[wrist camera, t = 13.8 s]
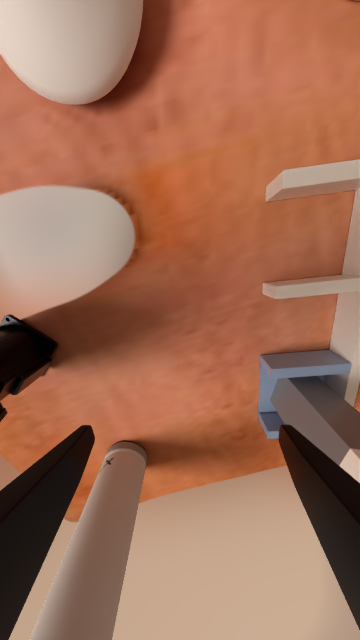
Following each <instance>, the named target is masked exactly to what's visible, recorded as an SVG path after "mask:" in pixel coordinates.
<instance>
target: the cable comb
mask: <svg viewBox="0 0 360 640" xmlns="http://www.w3.org/2000/svg"><path fill="white" fill-rule="evenodd" d="M351 190H356V192H355V198H354V204H353V210H352V216H351V222H350V228H349V234H348V240H347V246H346V252H345V258H344V264H343V270H342V275H333V276H324V277H314V278H305V279H295V280H285V281H276V282H266V283H263V291H262V294H264V295H266V296H269V297H271V298H274V299H285V298H295V297H305V296H315V295H326V294H336V293H339V294H338V300H337V306H336V312H335V318H334V324H333V330H332V336H331V342H330V347H329V350H319V351H306V352H294V353H281V354H268V355H260V364H261V365H260V378H259V406H258V419H259V421H260V423H261V426H262V428H263V430H264V432H265V434H266V436H267V438H268V439H277V438H279V429H280V425H281V424H284V422H283V420H282V419H281V417H280V416H279V414H278V412H277V411H276V409H275V407H274V406H273V404H272V403H271V401H270V398H271V395H272V393H273V390H274V387H275V385H276V382H277V379H278V378H292V377H306V376H317V377H319V378H320V379H321V380H322V381H323V382H324V383H326V384H327V385H328V386H329V387H330V388H331V389H333V390H334V391H335V392H336V393H337V394H338V395H340V396H341V397H342V398H343V399H344V400H345V401H347V402H348V403H349V404H350V405H351V406H352V407H354V404H355V400H356V395H357V391H358V387H359V383H360V159H357V160H350V161H343V162H336V163H329V164H322V165H316V166H309V167H302V168H295V169H288V170H283V171H282V172H281V173H280V174H279V175H278V176H277V177H276V178H275V179H274V180H273V181H272V182H271V183H270V184H269V185H267V186H266V202H269V201H276V200H284V199H291V198H299V197H306V196H314V195H321V194H329V193H336V192H344V191H351Z"/></svg>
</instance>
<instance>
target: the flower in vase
mask: <svg viewBox="0 0 360 640" xmlns="http://www.w3.org/2000/svg"><path fill="white" fill-rule="evenodd" d="M142 13H143V0H0V54H1V56H2V58H3V59H4V60H5V62H6V63H7V64H8V66H9V67H10V69H11V70H12V71H13V72H14V73H15V74H16V75H17V76H18V78H19V79H20V80H21V81H22V82H24V83H25V84H26V85H27V86H28V87H29V88H31V89H32V90H33V91H35V92H36V93H38V94H39V95H41V96H43V97H45V98H47V99H49V100H52V101H55V102H58V103H63V104H70V105H82V104H87V103H91V102H94V101H96V100H98V99H100V98H102V97H103V96H105V95H106V94H108V93H109V92H110V91H111V90H112V89H113V88H114V87H115V86H116V85H117V84H118V82H119V81H120V80H121V78H122V77H123V75H124V73H125V72H126V70H127V68H128V66H129V64H130V61H131V59H132V56H133V53H134V50H135V47H136V45H137V41H138V37H139V33H140V28H141V21H142Z"/></svg>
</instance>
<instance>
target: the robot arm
mask: <svg viewBox="0 0 360 640" xmlns="http://www.w3.org/2000/svg"><path fill="white" fill-rule="evenodd" d="M52 345H53V346H52ZM57 346H58V344H57V343H56V342H55V341H53V340H52V339H50V338H48V337H47V336H45V335H44V334H42V333H40V332H39V331H37V330H35V329H34V328H32V327H31V326H29V325H27V324H26V323H24V322H23V321H21V320H19V319H18V318H16V317H14V316H13V315H6V316H4V318H3V320H2V322H1V325H0V401H1V400H2V399H3V398H5V397H6V396H7V395H9V394H12V395H17V394H18V393H20V392H21V391H22V390H23V389H25V388H26V387H27V386H29V385H30V384H31V383H33V382H34V381H35V380H36V379H38V378H39V377H40V376H42V375H43V374H44V373H45V371H46V370H47V368H48V366H49V365H50V363H51V361H52V358H51V357H52V355H53V354H54V352H55V350H56V348H57ZM6 414H7V411H6V409H5V408H3V406H2V404H1V402H0V422H1V420H2V419H3V418H4V417H5V415H6ZM94 441H95V436H94V433H93V430H92V427H91V426H90V425H82V426H81V427H79V428H78V429H77V430H76V431H74V432H73V433H72V434H71V435H69V436H68V437H67V438H66V439H64V440H63V441H62V442H61V443H59V444H58V445H57V446H56V447H54V448H53V449H52V450H51V451H49V452H48V453H47V454H46V455H44V456H43V457H42V458H41V459H39V460H38V461H37V462H36V463H34V464H33V465H32V466H31V467H29V468H28V469H27V470H26V471H24V472H23V473H22V474H21V475H20V476H18V477H17V478H16V479H14V480H13V481H12V482H11V483H10V484H8V485H7V486H6V487H4V488H3V489H2V490H1V491H0V640H8V639H9V637H10V635H11V633H12V631H13V628H14V626H15V624H16V622H17V620H18V617H19V615H20V613H21V611H22V609H23V606H24V604H25V602H26V599H27V597H28V595H29V593H30V591H31V588H32V586H33V584H34V582H35V580H36V577H37V575H38V573H39V571H40V569H41V566H42V564H43V562H44V560H45V558H46V556H47V553H48V551H49V549H50V546H51V544H52V542H53V540H54V538H55V536H56V533H57V531H58V529H59V527H60V525H61V522H62V520H63V518H64V516H65V514H66V511H67V509H68V507H69V505H70V503H71V500H72V498H73V496H74V494H75V491H76V489H77V487H78V485H79V482H80V480H81V478H82V475H83V472H84V470H85V467H86V464H87V461H88V458H89V456H90V453H91V450H92V447H93V445H94ZM279 444H280V446H281V449H282V452H283V455H284V458H285V461H286V463H287V466H288V469H289V472H290V475H291V477H292V480H293V483H294V485H295V488H296V490H297V492H298V495H299V497H300V499H301V501H302V503H303V506H304V508H305V510H306V512H307V515H308V517H309V519H310V521H311V523H312V526H313V528H314V530H315V532H316V535H317V537H318V539H319V541H320V543H321V546H322V548H323V550H324V552H325V554H326V557H327V559H328V561H329V563H330V565H331V568H332V570H333V572H334V574H335V576H336V579H337V581H338V583H339V585H340V587H341V590H342V592H343V594H344V596H345V599H346V601H347V603H348V605H349V607H350V610H351V612H352V614H353V616H354V618H355V621H356V623H357V625H358V627H359V630H360V483H359V482H358V481H357V480H355V479H354V478H353V477H352V476H351V475H350V474H348V473H347V472H346V471H345V470H344V469H342V468H341V467H340V466H339V465H338V464H337V463H335V462H334V461H333V460H332V459H331V458H329V457H328V456H327V455H326V454H325V453H324V452H322V451H321V450H320V449H319V448H318V447H317V446H315V445H314V444H313V443H312V442H311V441H309V440H308V439H307V438H306V437H305V436H304V435H302V434H301V433H300V432H299V431H298V430H296V429H295V428H294V427H293V426H292V425H290V424H281V425H280V429H279Z"/></svg>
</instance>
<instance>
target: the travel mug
mask: <svg viewBox="0 0 360 640" xmlns="http://www.w3.org/2000/svg"><path fill="white" fill-rule="evenodd" d="M146 463H147V454H146V452H145V451H144V449H143V448H142V447H140V446H139V445H137V444H135V443H132V442H118V443H116V444H114V445H112V446H111V447H110V448H109V450H108V452H107V454H106V457H105V459H104V461H103V464H102V466H101V469H100V471H99V473H98V476H97V478H96V481H95V483H94V485H93V488H92V490H91V493H90V495H89V497H88V500H87V502H86V505H85V507H84V509H83V512H82V514H81V517H80V519H79V521H78V524H77V526H76V529H75V531H74V534H73V536H72V538H71V541H70V543H69V545H68V548H67V551H66V553H65V555H64V557H63V560H62V562H61V565H60V567H59V569H58V572H57V574H56V577H55V579H54V581H53V584H52V586H51V589H50V591H49V594H48V596H47V598H46V601H45V603H44V606H43V608H42V610H41V613H40V615H39V618H38V620H37V623H36V625H35V627H34V630H33V632H32V635H31V637H30V639H29V640H112V636H113V631H114V626H115V620H116V615H117V610H118V605H119V600H120V595H121V589H122V585H123V580H124V575H125V570H126V565H127V560H128V555H129V550H130V544H131V539H132V534H133V529H134V524H135V519H136V514H137V509H138V504H139V499H140V494H141V489H142V484H143V478H144V473H145V468H146Z"/></svg>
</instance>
